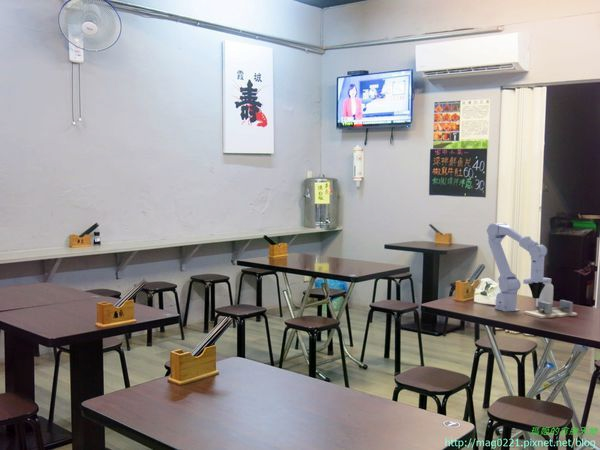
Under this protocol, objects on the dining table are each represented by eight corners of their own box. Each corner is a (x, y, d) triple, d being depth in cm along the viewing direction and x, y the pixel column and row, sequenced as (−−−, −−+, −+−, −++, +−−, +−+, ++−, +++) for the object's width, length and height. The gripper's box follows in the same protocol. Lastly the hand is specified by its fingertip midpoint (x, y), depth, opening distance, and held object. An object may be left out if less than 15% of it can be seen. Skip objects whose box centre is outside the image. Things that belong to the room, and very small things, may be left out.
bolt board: (540, 318, 291) (540, 305, 290) (523, 313, 301) (524, 301, 300) (577, 315, 299) (577, 303, 299) (559, 310, 310) (560, 298, 309)
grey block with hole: (547, 313, 295) (547, 303, 295) (537, 311, 301) (538, 301, 301) (551, 313, 296) (552, 303, 296) (542, 310, 302) (543, 301, 302)
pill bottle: (555, 309, 314) (556, 279, 313) (539, 308, 314) (540, 279, 313) (549, 305, 322) (550, 277, 321) (533, 305, 322) (534, 276, 321)
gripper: (531, 271, 289) (530, 300, 290) (555, 270, 294) (553, 298, 295) (520, 269, 295) (519, 297, 296) (544, 268, 301) (542, 296, 302)
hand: (535, 298), depth 296 cm, fingers closed
